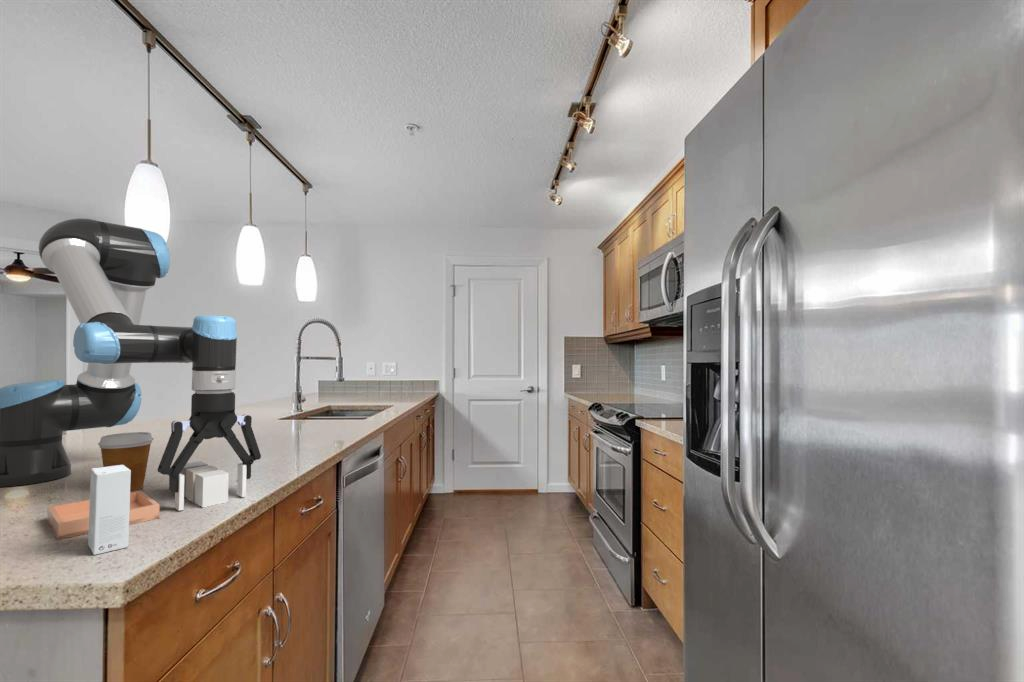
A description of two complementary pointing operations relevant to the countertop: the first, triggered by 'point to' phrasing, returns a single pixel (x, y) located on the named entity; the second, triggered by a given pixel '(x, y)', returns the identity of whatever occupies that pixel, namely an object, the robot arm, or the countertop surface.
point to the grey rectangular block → (191, 465)
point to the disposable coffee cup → (128, 454)
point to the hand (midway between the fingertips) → (211, 501)
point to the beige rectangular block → (191, 479)
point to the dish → (76, 515)
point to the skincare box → (109, 509)
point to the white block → (211, 488)
